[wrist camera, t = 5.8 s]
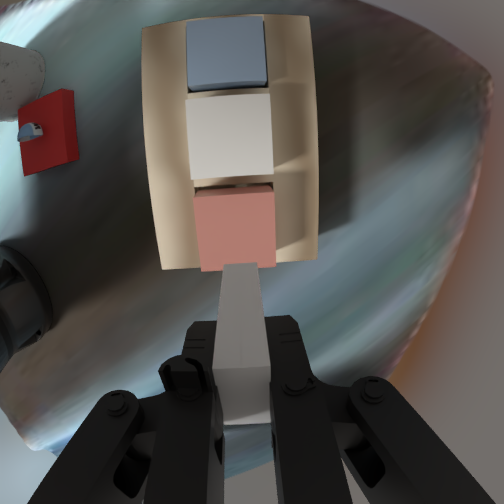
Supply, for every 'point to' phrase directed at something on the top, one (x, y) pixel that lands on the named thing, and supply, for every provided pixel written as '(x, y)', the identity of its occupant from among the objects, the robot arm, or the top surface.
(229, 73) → the blue key
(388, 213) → the top surface
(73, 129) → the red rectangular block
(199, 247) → the red key
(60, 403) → the top surface
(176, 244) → the frame
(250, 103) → the white key
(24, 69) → the grey cylinder
